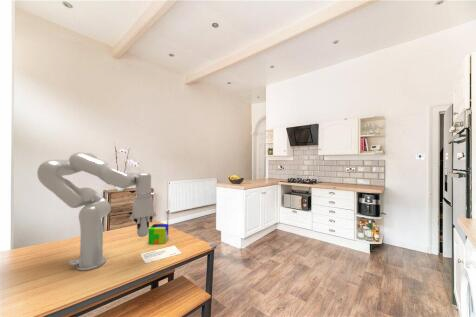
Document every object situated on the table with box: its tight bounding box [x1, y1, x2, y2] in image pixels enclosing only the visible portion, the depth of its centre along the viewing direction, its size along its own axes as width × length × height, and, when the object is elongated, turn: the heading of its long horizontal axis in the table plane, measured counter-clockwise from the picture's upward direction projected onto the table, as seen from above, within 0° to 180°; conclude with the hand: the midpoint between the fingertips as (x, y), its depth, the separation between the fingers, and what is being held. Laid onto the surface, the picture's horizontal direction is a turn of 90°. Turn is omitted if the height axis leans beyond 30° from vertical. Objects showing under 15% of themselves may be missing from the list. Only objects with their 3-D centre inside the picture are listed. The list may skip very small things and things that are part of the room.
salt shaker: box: [136, 215, 150, 238], centre depth 108 cm, size 6×6×13 cm
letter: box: [140, 245, 182, 264], centre depth 117 cm, size 20×13×1 cm, turn 126°
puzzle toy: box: [147, 223, 169, 245], centre depth 135 cm, size 10×10×10 cm
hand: (143, 229), depth 108 cm, fingers closed on salt shaker, 3 cm apart
